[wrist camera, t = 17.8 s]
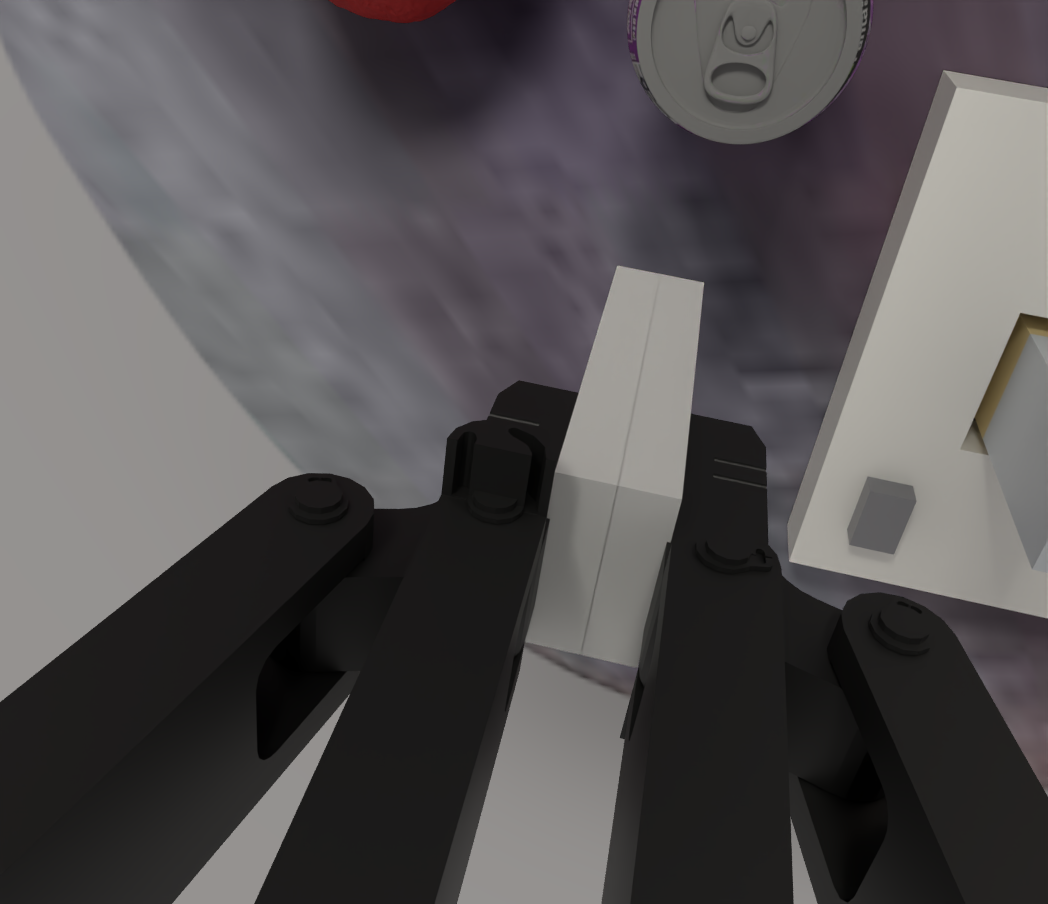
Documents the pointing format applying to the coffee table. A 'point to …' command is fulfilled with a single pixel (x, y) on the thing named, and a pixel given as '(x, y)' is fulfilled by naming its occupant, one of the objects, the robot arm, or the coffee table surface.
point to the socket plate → (937, 363)
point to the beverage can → (746, 61)
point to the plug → (1021, 432)
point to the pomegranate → (394, 9)
